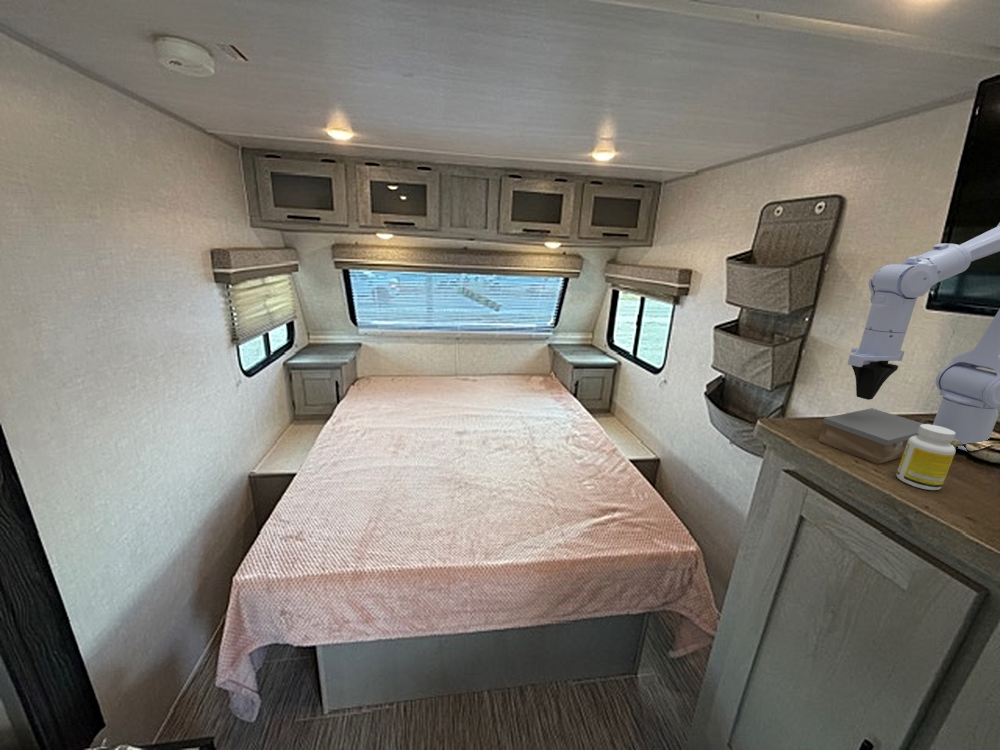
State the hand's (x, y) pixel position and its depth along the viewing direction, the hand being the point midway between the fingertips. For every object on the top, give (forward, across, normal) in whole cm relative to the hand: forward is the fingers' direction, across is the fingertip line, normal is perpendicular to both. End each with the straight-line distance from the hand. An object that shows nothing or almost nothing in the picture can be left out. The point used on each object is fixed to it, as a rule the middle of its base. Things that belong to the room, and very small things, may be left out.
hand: (864, 397), depth 79 cm
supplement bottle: (+10, +8, +14) cm, 18 cm away
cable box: (+9, -1, +3) cm, 10 cm away
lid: (+5, -1, +3) cm, 6 cm away
